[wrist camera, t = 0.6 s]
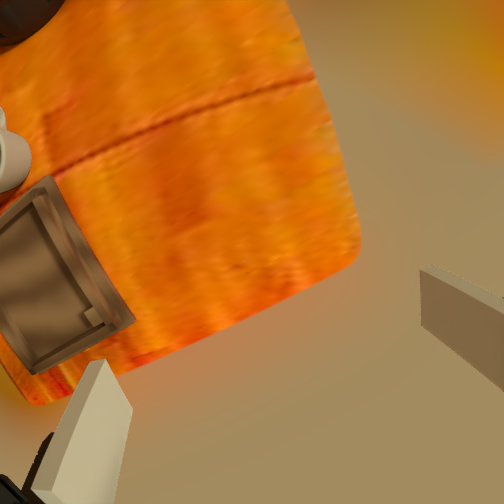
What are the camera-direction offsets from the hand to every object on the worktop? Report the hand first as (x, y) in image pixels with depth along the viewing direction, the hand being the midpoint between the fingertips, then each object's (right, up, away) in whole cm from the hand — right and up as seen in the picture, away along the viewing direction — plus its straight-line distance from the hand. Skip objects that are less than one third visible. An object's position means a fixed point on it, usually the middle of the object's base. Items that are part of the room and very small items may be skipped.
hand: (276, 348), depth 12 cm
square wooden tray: (-27, 0, +22) cm, 35 cm away
